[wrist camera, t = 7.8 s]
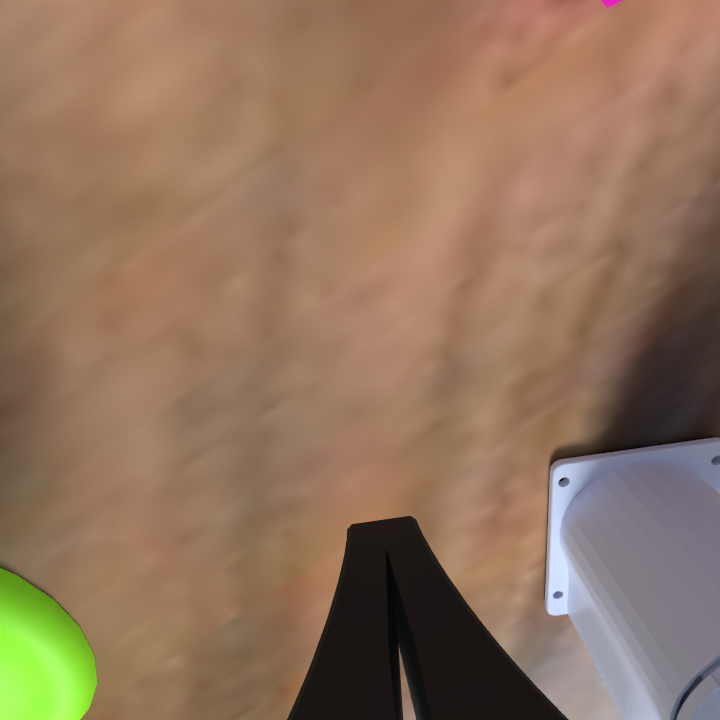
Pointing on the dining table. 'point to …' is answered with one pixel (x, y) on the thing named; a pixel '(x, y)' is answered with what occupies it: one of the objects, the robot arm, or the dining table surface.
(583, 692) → the dining table surface
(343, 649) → the robot arm
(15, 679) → the wineglass
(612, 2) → the toy block
